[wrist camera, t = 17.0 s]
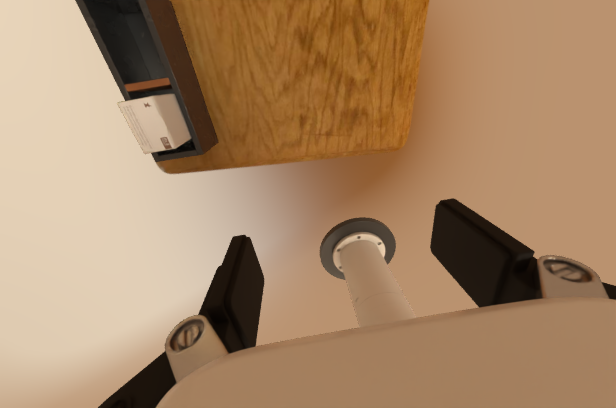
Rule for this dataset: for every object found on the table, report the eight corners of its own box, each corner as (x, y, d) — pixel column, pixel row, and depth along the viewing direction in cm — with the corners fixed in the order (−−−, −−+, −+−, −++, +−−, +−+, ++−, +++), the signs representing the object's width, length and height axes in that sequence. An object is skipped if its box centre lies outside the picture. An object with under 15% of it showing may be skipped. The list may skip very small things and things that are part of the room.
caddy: (218, 142, 39) (203, 154, 32) (179, 149, 39) (155, 162, 32) (171, 1, 30) (135, -24, 23) (119, 10, 30) (68, -13, 23)
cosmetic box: (165, 96, 34) (110, 100, 24) (193, 91, 34) (150, 92, 24) (182, 135, 37) (140, 155, 27) (208, 131, 37) (176, 148, 27)
